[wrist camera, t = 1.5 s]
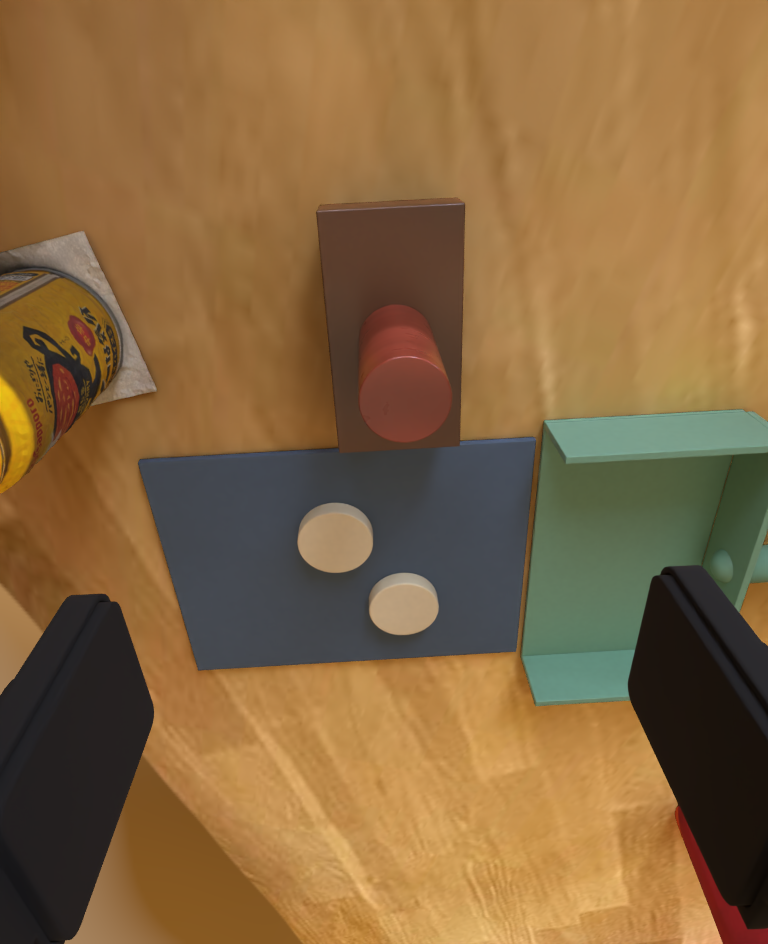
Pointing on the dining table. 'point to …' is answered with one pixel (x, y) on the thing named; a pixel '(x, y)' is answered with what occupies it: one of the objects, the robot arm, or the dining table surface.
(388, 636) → the scrub mat
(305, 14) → the dining table surface
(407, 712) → the dining table surface
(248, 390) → the dining table surface
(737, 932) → the paper cup
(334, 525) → the crumb
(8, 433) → the condiment
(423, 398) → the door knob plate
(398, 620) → the crumb
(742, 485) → the dustpan
